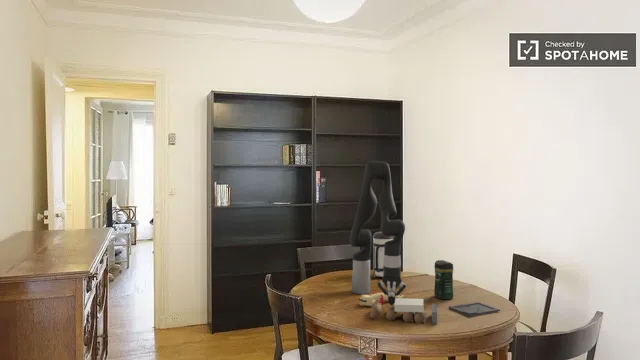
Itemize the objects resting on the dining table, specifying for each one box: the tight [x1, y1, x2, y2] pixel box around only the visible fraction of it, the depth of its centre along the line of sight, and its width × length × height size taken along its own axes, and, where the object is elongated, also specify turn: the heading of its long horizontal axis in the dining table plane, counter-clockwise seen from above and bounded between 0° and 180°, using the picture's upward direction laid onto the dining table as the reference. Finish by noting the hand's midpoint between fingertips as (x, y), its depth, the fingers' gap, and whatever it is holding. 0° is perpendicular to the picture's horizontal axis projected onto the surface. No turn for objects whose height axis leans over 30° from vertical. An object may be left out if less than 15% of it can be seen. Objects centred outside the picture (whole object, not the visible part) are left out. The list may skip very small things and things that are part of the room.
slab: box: [394, 297, 425, 313], centre depth 194 cm, size 12×10×3 cm
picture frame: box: [448, 301, 501, 318], centre depth 205 cm, size 13×2×18 cm
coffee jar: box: [433, 259, 454, 300], centre depth 226 cm, size 10×8×19 cm
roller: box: [413, 310, 425, 324], centre depth 193 cm, size 4×12×4 cm, turn 166°
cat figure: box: [357, 284, 405, 307], centre depth 216 cm, size 10×9×25 cm
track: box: [369, 301, 427, 325], centre depth 195 cm, size 23×12×4 cm, turn 76°
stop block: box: [431, 303, 438, 325], centre depth 191 cm, size 2×12×5 cm, turn 166°
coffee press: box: [371, 231, 394, 279], centre depth 268 cm, size 17×16×30 cm
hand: (391, 304), depth 195 cm, fingers closed
